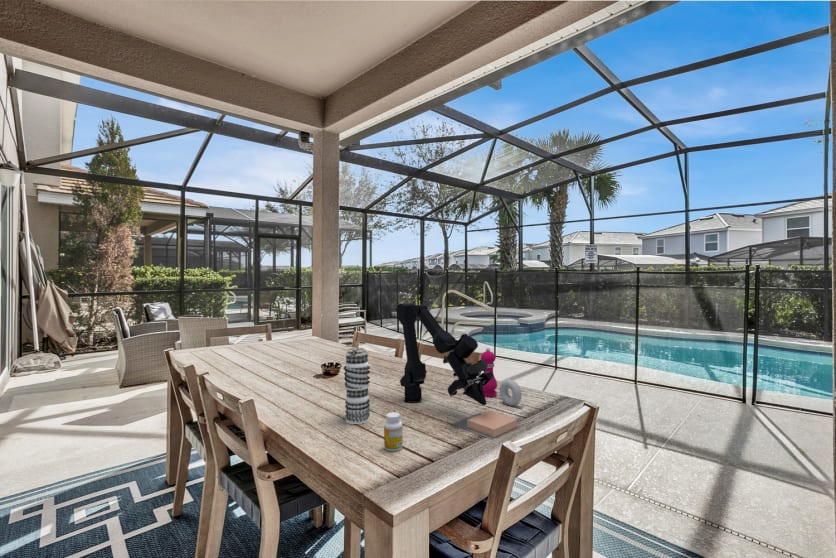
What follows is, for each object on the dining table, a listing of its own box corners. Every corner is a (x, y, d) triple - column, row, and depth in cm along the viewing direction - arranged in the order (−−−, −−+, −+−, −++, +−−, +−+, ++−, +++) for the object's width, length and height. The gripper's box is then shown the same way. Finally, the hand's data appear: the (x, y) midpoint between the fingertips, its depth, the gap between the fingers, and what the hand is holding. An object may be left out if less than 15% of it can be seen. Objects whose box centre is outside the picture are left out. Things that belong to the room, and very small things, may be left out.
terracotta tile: (466, 419, 125) (494, 429, 116) (489, 410, 132) (516, 419, 124) (467, 427, 125) (494, 437, 116) (490, 418, 132) (516, 427, 124)
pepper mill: (497, 398, 155) (496, 349, 155) (479, 397, 157) (478, 349, 157) (497, 393, 162) (496, 346, 162) (480, 392, 164) (479, 345, 164)
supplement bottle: (384, 444, 114) (383, 411, 114) (402, 443, 114) (401, 411, 114) (384, 452, 109) (383, 418, 109) (403, 451, 109) (402, 417, 109)
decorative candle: (349, 427, 127) (348, 352, 127) (341, 418, 135) (340, 348, 135) (374, 421, 131) (373, 349, 131) (365, 413, 140) (364, 345, 140)
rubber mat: (451, 425, 128) (451, 423, 128) (480, 414, 138) (480, 413, 138) (492, 441, 115) (492, 439, 115) (520, 427, 125) (520, 426, 125)
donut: (523, 408, 143) (523, 381, 143) (517, 410, 141) (517, 383, 141) (503, 401, 152) (503, 376, 152) (497, 402, 150) (497, 377, 150)
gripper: (453, 356, 124) (480, 397, 116) (489, 348, 136) (515, 385, 128) (437, 375, 130) (461, 416, 122) (472, 366, 142) (497, 403, 134)
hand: (485, 404), depth 126 cm, fingers closed
